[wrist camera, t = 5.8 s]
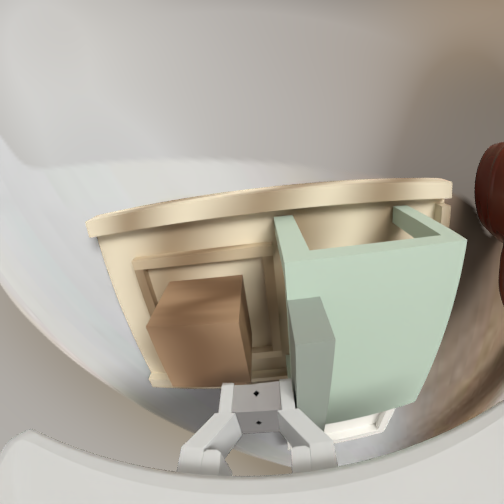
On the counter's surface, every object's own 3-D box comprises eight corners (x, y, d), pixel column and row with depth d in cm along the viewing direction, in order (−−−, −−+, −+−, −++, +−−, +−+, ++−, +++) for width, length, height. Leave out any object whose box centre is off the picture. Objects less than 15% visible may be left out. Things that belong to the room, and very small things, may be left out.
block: (242, 274, 16) (238, 322, 12) (252, 333, 18) (251, 385, 13) (169, 281, 16) (145, 326, 12) (187, 337, 18) (173, 386, 14)
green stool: (406, 205, 14) (502, 263, 6) (387, 346, 18) (427, 429, 11) (273, 216, 14) (293, 302, 7) (286, 364, 19) (296, 462, 11)
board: (439, 178, 14) (452, 182, 12) (412, 346, 19) (419, 356, 18) (96, 215, 15) (85, 222, 14) (157, 375, 20) (153, 387, 19)
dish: (404, 359, 20) (410, 371, 18) (380, 421, 24) (383, 431, 23) (282, 382, 20) (284, 397, 19) (287, 438, 25) (287, 450, 23)
